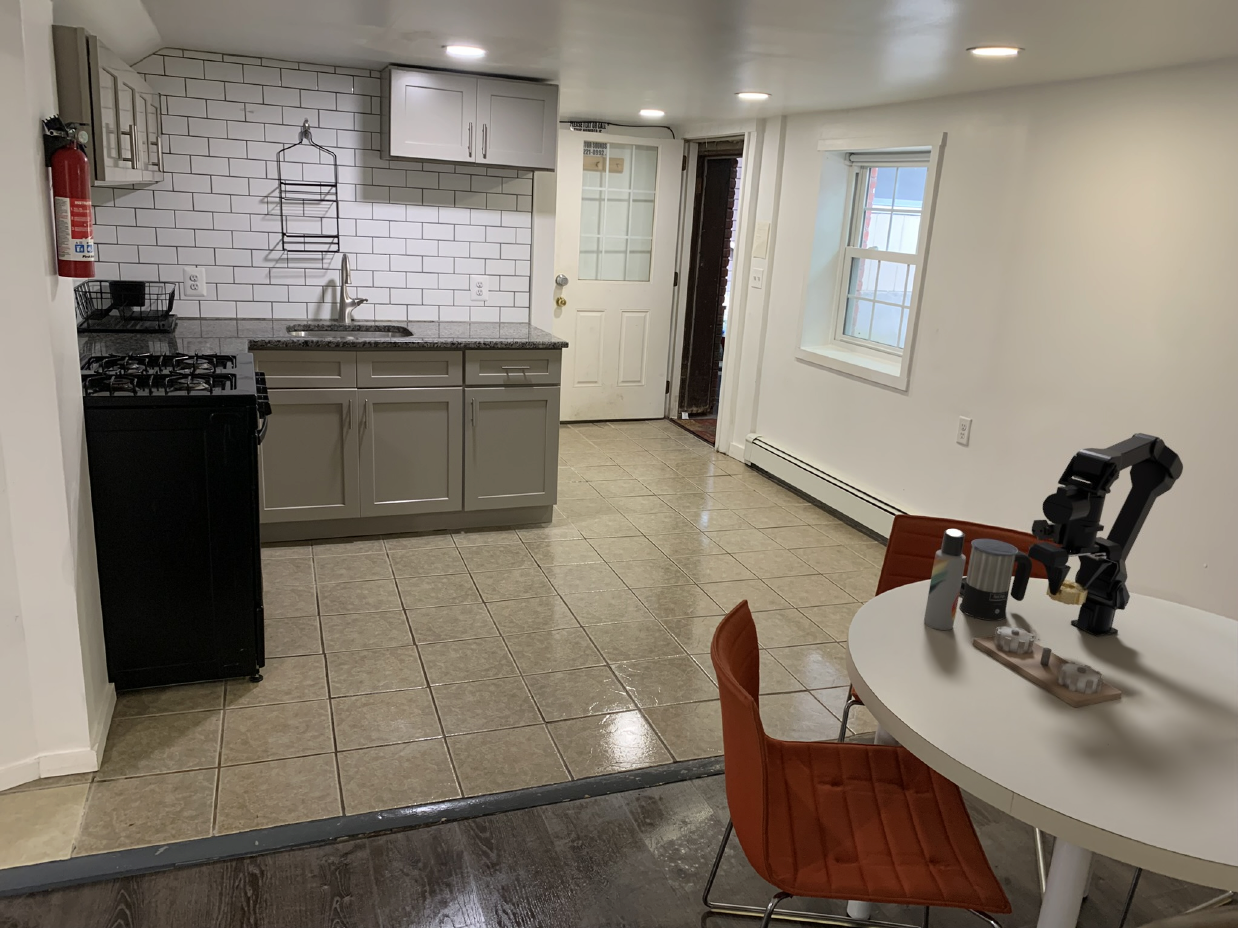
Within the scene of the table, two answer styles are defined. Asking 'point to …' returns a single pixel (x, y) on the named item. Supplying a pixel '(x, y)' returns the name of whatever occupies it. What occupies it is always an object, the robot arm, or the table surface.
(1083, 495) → the robot arm
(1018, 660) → the gear board
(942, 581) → the lotion bottle
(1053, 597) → the brass gear
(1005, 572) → the milk frother
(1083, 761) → the table surface
